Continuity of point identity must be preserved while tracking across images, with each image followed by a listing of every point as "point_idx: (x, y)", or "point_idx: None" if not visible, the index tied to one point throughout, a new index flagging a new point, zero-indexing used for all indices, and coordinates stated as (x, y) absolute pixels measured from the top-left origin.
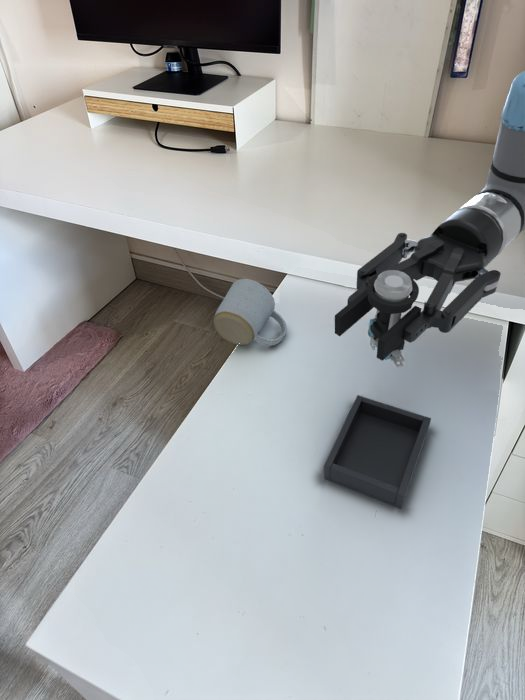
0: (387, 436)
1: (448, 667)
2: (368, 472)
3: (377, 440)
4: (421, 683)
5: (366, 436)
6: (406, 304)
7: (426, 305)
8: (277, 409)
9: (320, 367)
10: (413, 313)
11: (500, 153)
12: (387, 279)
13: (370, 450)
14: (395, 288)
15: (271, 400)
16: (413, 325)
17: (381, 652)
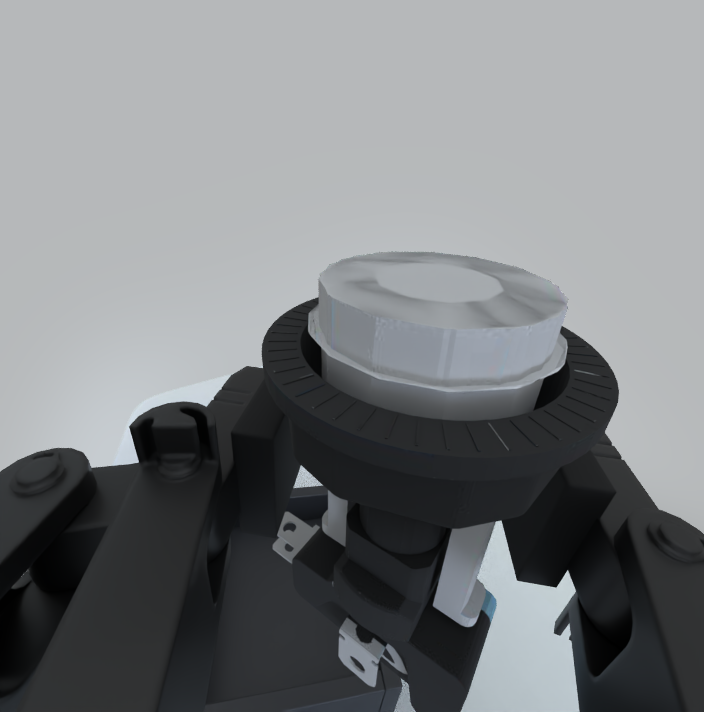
0: (283, 653)
1: (141, 411)
2: (288, 546)
3: (300, 628)
4: (168, 395)
5: (326, 622)
6: (299, 308)
7: (198, 403)
8: (523, 590)
9: None
10: (264, 393)
11: None
12: (479, 278)
13: None
14: (388, 261)
15: (554, 605)
16: (249, 393)
17: (208, 399)
